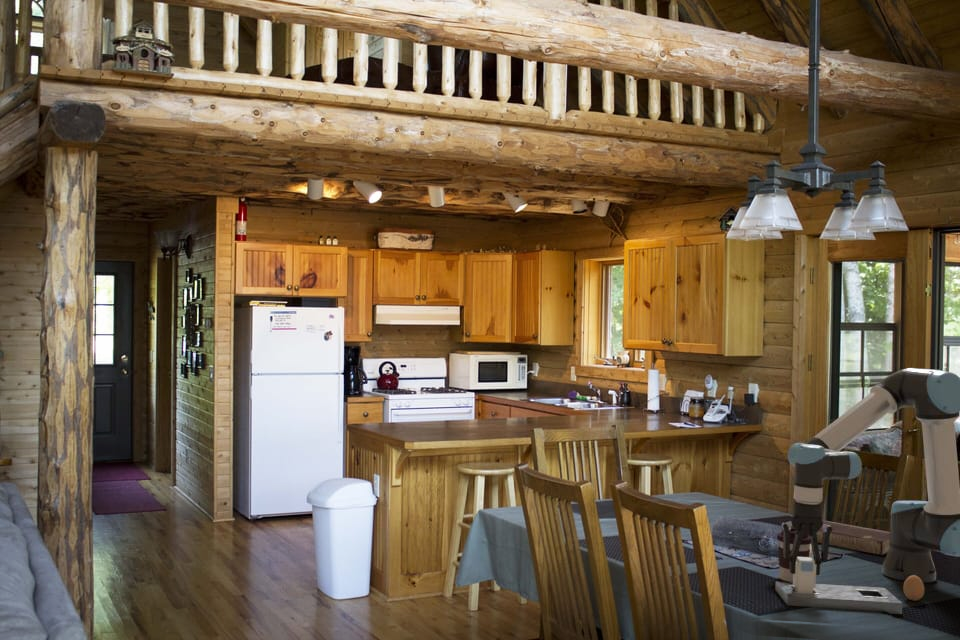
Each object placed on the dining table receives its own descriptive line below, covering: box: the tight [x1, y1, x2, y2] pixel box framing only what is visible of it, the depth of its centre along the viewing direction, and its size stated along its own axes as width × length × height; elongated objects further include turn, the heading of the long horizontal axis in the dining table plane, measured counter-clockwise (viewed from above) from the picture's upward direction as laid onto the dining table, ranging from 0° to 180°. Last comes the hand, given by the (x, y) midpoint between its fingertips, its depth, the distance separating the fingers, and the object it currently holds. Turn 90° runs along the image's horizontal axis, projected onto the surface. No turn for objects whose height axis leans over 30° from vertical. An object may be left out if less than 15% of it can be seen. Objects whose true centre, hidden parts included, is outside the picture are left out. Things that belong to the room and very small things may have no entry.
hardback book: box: [817, 519, 890, 556], centre depth 341 cm, size 29×19×5 cm, turn 49°
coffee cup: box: [776, 527, 811, 582], centre depth 288 cm, size 10×10×15 cm
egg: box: [902, 575, 925, 602], centre depth 273 cm, size 5×5×7 cm
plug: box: [794, 556, 815, 593], centre depth 268 cm, size 4×5×11 cm
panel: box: [774, 581, 903, 615], centre depth 268 cm, size 30×14×3 cm, turn 86°
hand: (803, 585), depth 269 cm, fingers closed on plug, 4 cm apart
